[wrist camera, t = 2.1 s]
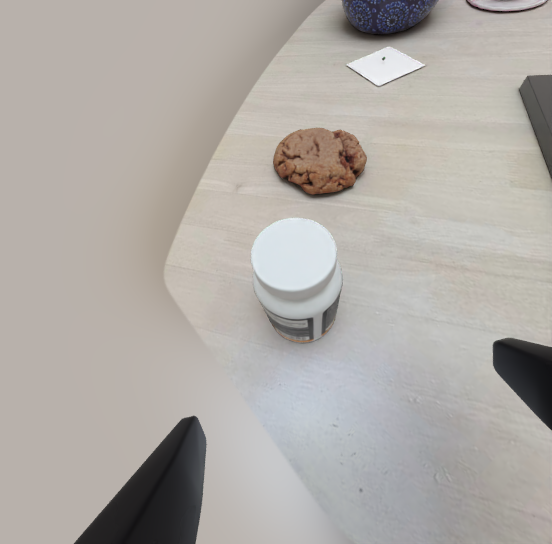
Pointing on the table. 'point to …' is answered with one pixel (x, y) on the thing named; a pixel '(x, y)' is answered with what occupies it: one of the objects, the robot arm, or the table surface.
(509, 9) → the teacup
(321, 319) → the pill bottle
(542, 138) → the hob
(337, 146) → the cookie
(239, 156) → the table surface
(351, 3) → the planter
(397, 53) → the coaster
